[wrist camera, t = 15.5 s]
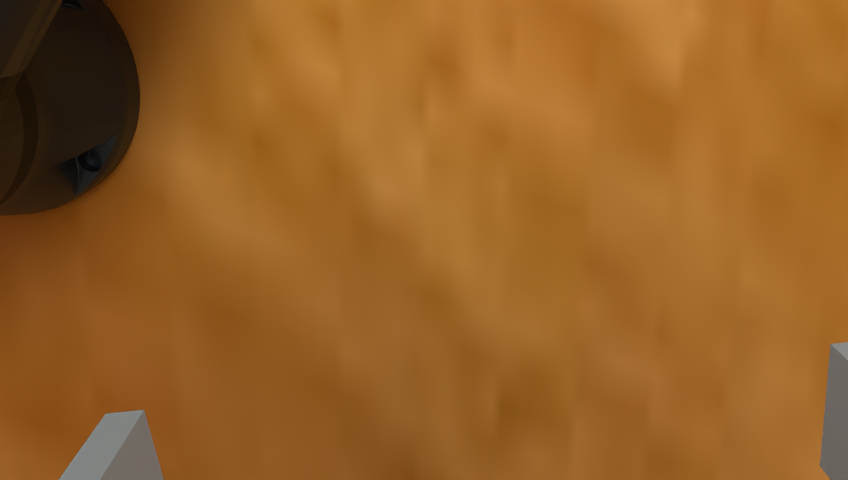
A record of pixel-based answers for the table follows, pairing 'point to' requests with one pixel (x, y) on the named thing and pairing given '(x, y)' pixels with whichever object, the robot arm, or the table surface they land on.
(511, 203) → the table surface
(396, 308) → the table surface
